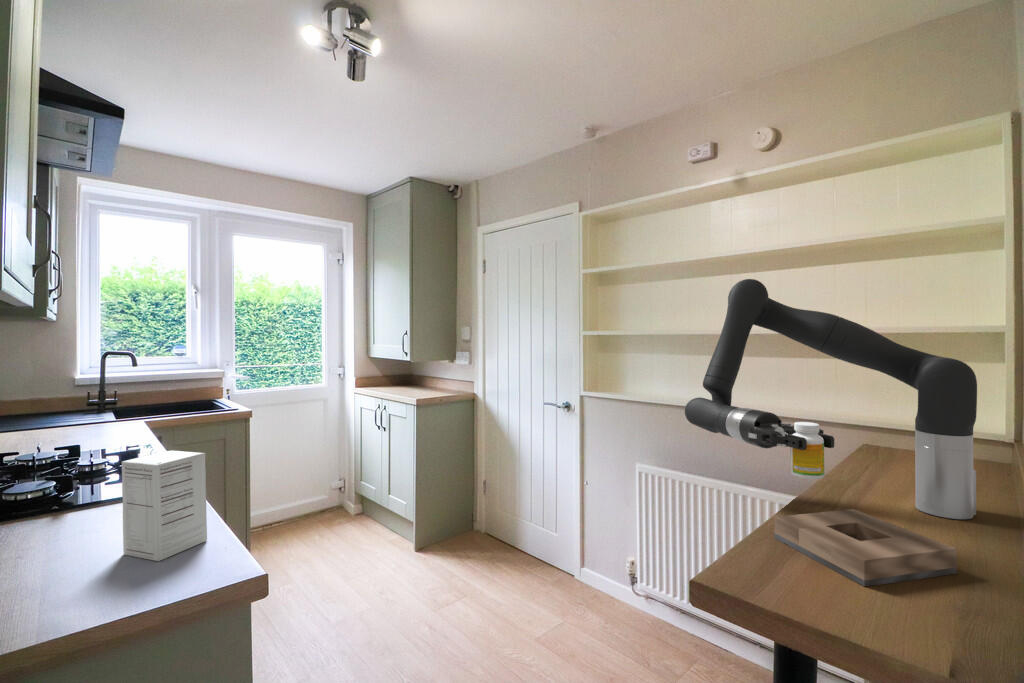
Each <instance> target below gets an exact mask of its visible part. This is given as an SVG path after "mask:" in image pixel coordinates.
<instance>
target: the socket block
mask: <svg viewBox="0 0 1024 683" xmlns="http://www.w3.org/2000/svg"><path fill="white" fill-rule="evenodd" d="M773 524H774V530H773V531H774V537H773V538H774V539H775V540H778V541H779V542H781V543H782V544H784V543H785V545H786V544H787V545H786V546H788V545H789V546H788V547H790V548H792V549H794V550H795V551H796V552H799V553H801V554H803V555H805V556H807V557H809V559H810V558H811V559H813V560H814V561H816V562H818V563H820V564H822V565H824V566H825V567H827V568H828V569H831V570H832V571H834V572H837V573H838V574H840V575H842V576H844V578H847V579H849V580H851V581H853V582H854V581H855V583H856V582H857V583H856V584H858V583H859V585H860V584H861V585H860V586H862V585H863V586H862V587H864V586H867V587H871V586H870V585H874V586H879V585H885V584H894V583H901V582H909V581H915V580H920V579H927V578H934V577H942V576H949V575H955V574H957V570H958V568H957V566H958V565H957V562H958V561H957V560H958V555H957V552H958V551H957V549H958V548H956V547H954V546H951V545H948V544H946V543H944V542H941V541H938V540H935V539H933V538H930V537H928V536H925V535H922V534H920V533H917V532H915V531H912V530H909V529H907V528H903V527H901V526H900V525H896V524H893V523H891V522H888V521H885V520H883V519H880V518H878V517H875V516H872V515H870V514H868V513H865V512H863V511H859V510H857V509H854V508H850V509H848V508H847V509H840V510H830V511H820V512H819V511H818V512H809V513H800V514H799V513H798V514H790V515H780V516H779V515H778V516H774V523H773Z"/></svg>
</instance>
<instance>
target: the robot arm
mask: <svg viewBox="0 0 1024 683" xmlns="http://www.w3.org/2000/svg"><path fill="white" fill-rule="evenodd" d="M724 318H725V320H724V322H723V326H722V329H721V333H720V335H719V338H718V341H717V343H716V346H715V349H714V351H713V354H712V356H711V358H710V361H709V364H708V366H707V369H706V372H705V375H704V377H703V380H702V387H703V388H704V390H706V391H707V392H708V393H709V394H710V396H711V399H708V398H704V397H694V398H692V399H690V400H689V401H688V402H687V404H685V407H684V415H685V418H686V420H687V421H688V422H689V423H690V424H692V425H693V426H696V427H699V428H701V429H704V430H706V431H708V432H710V433H714V434H718V433H719V434H721V435H724V436H726V437H730V438H733V439H736V440H737V441H740V442H743V443H746V444H749V445H753V446H756V447H759V448H762V449H772V448H776V447H783V448H787V447H788V448H789V447H792V448H795V449H799V450H806V448H807V445H806V439H805V438H803V437H799V436H795V435H792V434H794V433H796V431H795V429H794V425H793V424H791V423H788V422H783V421H782V420H781V418H780V417H779V416H778V415H776V414H775V413H773V412H768V411H764V410H759V409H756V408H755V409H754V408H749V407H738V406H734V405H732V398H733V397H732V394H733V389H734V385H735V383H736V380H737V377H738V374H739V371H740V369H741V368H740V367H741V365H742V361H743V357H744V353H745V349H746V347H747V342H748V339H749V336H750V334H751V330H752V328H753V326H756V327H760V328H763V329H767V330H769V331H773V332H775V333H777V334H780V335H782V336H785V337H787V338H788V339H791V340H793V341H795V342H797V343H800V344H802V345H803V346H807V347H809V348H811V349H813V350H816V351H818V352H820V353H822V354H824V355H827V356H830V357H833V358H835V359H838V360H840V361H843V362H845V363H849V364H852V365H855V366H859V367H863V368H866V369H869V370H873V371H877V372H879V373H882V374H885V375H887V376H890V377H892V378H894V379H896V380H898V381H900V382H902V383H904V384H905V385H908V386H909V387H911V388H913V389H915V390H917V411H916V412H917V413H916V416H915V418H914V423H915V424H914V429H915V430H914V431H915V432H914V435H915V436H914V437H915V438H914V441H915V444H914V448H915V449H914V450H915V451H914V452H915V453H914V454H915V455H914V457H915V460H914V461H915V462H914V463H915V464H914V465H915V466H914V467H915V469H914V470H915V471H914V472H915V473H914V474H915V481H914V482H915V490H914V491H915V495H914V496H915V499H914V500H915V509H917V510H918V511H921V512H922V513H926V514H928V515H932V516H934V517H935V516H936V517H941V518H946V519H951V520H952V519H953V520H971V519H973V518H974V516H975V515H977V470H975V469H974V426H975V423H976V420H977V414H978V413H977V408H978V407H977V406H978V380H977V376H976V373H975V371H974V370H973V369H972V368H971V367H970V366H969V365H968V364H967V363H965V362H964V361H962V360H959V359H956V358H951V357H945V356H940V355H936V354H935V355H934V354H933V353H928V352H923V351H920V350H917V349H914V348H911V347H907V346H905V345H902V344H900V343H897V342H894V341H893V340H891V339H889V338H887V337H886V336H884V335H882V334H880V333H878V332H877V331H874V330H872V329H871V328H869V327H867V326H865V325H862V324H860V323H857V322H856V321H855V322H854V321H852V320H850V319H847V318H844V317H841V316H839V315H836V314H832V313H828V312H823V311H817V310H811V309H810V310H809V309H802V308H795V307H792V306H789V305H786V304H783V303H781V302H779V301H777V300H774V299H772V298H770V297H769V293H768V289H767V287H766V286H765V285H764V284H763V283H762V282H761V281H759V280H758V279H753V278H747V279H746V278H745V279H742V280H739V281H738V282H737V283H735V284H734V285H733V286H732V287H731V289H730V291H729V292H728V297H727V309H726V314H725V317H724ZM824 432H825V431H824V429H820V428H819V433H818V435H820V436H821V437H822V438H823V439H824V448H828V449H834V448H835V438H834V436H833V435H829V434H825V433H824Z"/></svg>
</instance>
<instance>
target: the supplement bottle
mask: <svg viewBox="0 0 1024 683" xmlns="http://www.w3.org/2000/svg"><path fill="white" fill-rule="evenodd" d="M793 424H794V429H795V431H796V433H794V434H792V435H795V436H799V437H803V438H805V439H806V445H807V448H806V450H799V449H795V448H792V447H790V450H789V451H790V453H789V455H790V460H789V461H790V464H789V465H790V474H792V475H793V476H795V477H799V478H801V479H802V478H803V479H808V480H820V479H823V478H824V477H825V447H824V439H823V438H822V437H821V436H820V435H818V433H819V429H820V424H819V423H817V422H812V421H811V422H810V421H795V422H794V423H793Z"/></svg>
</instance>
